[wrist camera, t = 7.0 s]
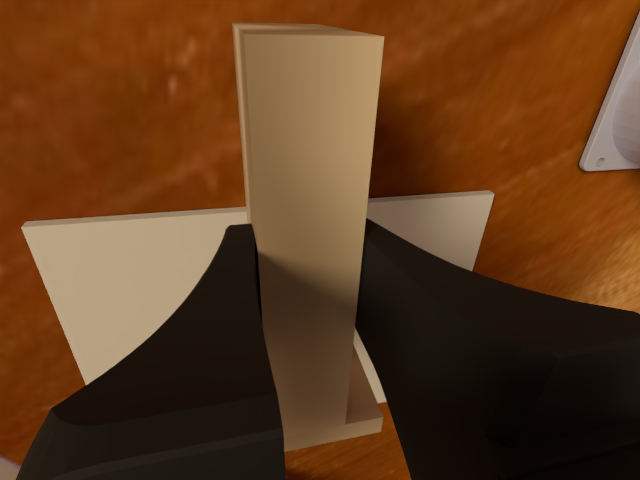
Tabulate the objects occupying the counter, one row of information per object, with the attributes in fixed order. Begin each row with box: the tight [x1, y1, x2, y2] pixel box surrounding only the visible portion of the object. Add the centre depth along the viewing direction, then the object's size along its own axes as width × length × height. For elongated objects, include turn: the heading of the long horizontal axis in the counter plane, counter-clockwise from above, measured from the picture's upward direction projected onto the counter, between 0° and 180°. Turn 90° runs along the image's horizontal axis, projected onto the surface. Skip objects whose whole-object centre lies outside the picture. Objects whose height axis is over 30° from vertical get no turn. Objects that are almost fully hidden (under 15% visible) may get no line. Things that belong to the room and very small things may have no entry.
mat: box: [21, 190, 495, 403], centre depth 22 cm, size 22×16×1 cm
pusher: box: [232, 22, 384, 452], centre depth 12 cm, size 5×12×5 cm, turn 179°
